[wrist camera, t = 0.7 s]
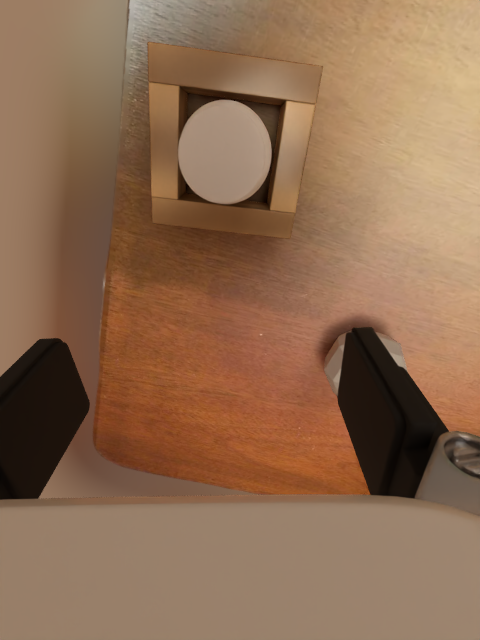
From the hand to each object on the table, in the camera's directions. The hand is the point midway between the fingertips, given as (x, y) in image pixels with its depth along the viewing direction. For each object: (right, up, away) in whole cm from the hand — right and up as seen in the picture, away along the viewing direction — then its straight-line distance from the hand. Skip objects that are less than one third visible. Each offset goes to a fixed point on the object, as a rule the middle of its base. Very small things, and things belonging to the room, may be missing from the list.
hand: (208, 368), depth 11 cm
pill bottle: (0, +15, +15) cm, 21 cm away
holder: (0, +15, +15) cm, 21 cm away
